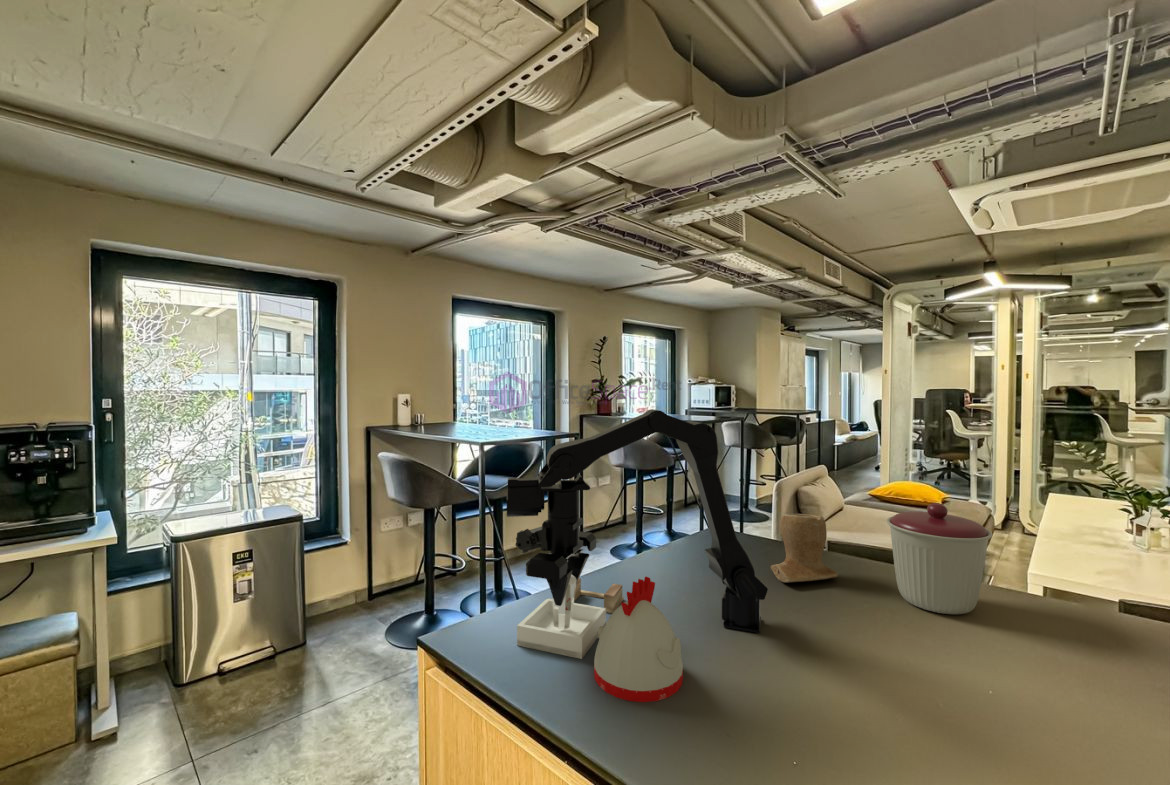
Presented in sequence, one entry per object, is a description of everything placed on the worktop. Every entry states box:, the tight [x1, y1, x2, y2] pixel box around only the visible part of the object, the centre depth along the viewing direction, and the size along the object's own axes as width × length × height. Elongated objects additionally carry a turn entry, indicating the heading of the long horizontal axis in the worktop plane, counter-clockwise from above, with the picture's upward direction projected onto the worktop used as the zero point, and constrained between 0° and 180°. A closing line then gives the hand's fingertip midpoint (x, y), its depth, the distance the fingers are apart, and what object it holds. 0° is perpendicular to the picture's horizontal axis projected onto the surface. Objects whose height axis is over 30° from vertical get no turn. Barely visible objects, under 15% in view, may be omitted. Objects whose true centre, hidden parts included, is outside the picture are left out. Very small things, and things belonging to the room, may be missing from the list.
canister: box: [886, 502, 993, 615], centre depth 107 cm, size 18×18×21 cm
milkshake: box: [551, 574, 577, 629], centre depth 92 cm, size 4×5×10 cm
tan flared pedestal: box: [770, 513, 839, 583], centre depth 122 cm, size 15×12×15 cm
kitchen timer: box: [593, 576, 684, 703], centre depth 81 cm, size 14×14×15 cm
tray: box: [516, 598, 607, 660], centre depth 93 cm, size 12×12×4 cm
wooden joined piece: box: [574, 577, 625, 614], centre depth 107 cm, size 11×7×4 cm, turn 69°
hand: (563, 600), depth 93 cm, fingers closed on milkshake, 4 cm apart
